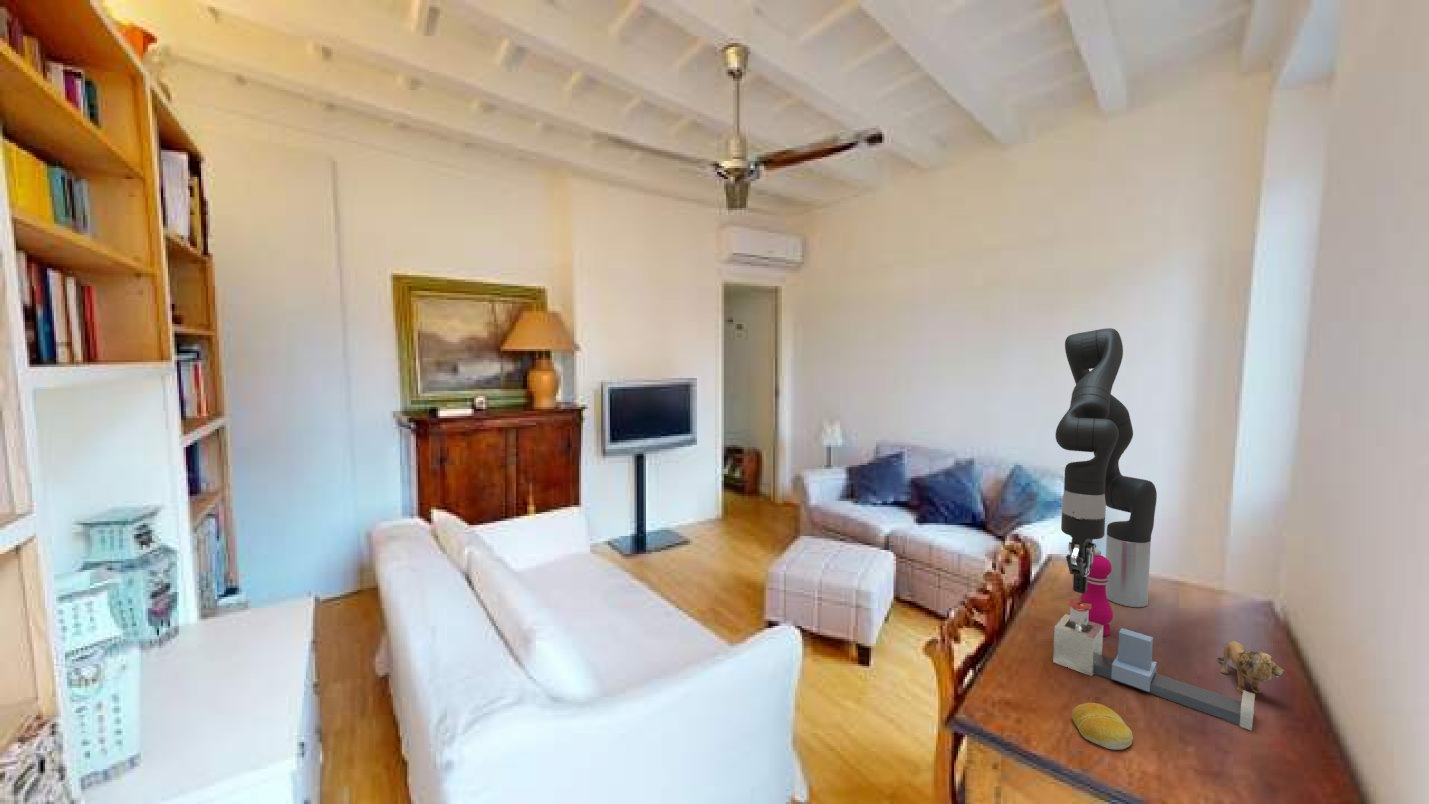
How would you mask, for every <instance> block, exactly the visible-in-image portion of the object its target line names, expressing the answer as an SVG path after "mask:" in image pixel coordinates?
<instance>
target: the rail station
mask: <svg viewBox="0 0 1429 804" xmlns="http://www.w3.org/2000/svg"><path fill="white" fill-rule="evenodd" d="M1053 631H1054V633H1053V654H1052V655H1053V657H1052V658H1053V659H1052V660H1053V663H1054V664H1057V665H1059V666H1062V667H1065V668H1067V667H1068V669H1071V670H1073V671H1077V672H1078V673H1079V672H1080V673H1082V674H1084V675H1087V676H1090V677H1093V676H1094V674H1095V675H1097V676H1101V677H1103V678H1105V679H1109V680H1111V681H1115V682H1117V683H1120V684H1122V685H1125V686H1128V687H1131V688H1134V689H1138V690H1140V691H1143V692H1145V693H1148V694H1152V695H1153V694H1155V695H1154V696H1156V697H1159V696H1161V697H1160V698H1162V699H1165V700H1167V699H1168V701H1171V702H1174V703H1176V704H1179V705H1181V706H1185V707H1187V706H1188V707H1187V708H1191V709H1193V708H1195V709H1194V710H1196V709H1197V710H1196V711H1198V710H1199V711H1198V712H1201V711H1204V712H1205V713H1204V712H1203V713H1204V714H1207V713H1208V714H1207V715H1210V714H1211V715H1210V716H1212V715H1213V717H1215V716H1217V717H1216V718H1218V717H1220V718H1219V719H1221V718H1222V720H1224V719H1226V720H1228V721H1227V722H1229V721H1231V722H1230V723H1232V722H1234V723H1233V724H1235V723H1236V724H1235V725H1238V726H1239V728H1243V729H1245V730H1247V731H1250V732H1251V731H1252V732H1253V724H1254V723H1253V722H1254V715H1255V713H1254V711H1255V702H1256V701H1255V700H1256V699H1255V698H1256V693H1253V692H1250V691H1247V690H1246V691H1244V690H1243V692H1242V695H1241V700H1238V699H1235V698H1233V697H1230V696H1227V695H1223V694H1221V693H1217V692H1214V691H1211V690H1209V689H1205V688H1202V687H1199V686H1195V685H1193V684H1190V683H1187V682H1184V681H1182V680H1181V681H1180V680H1179V679H1174V678H1172V677H1169V676H1166V675H1162V674H1159V673H1157V672H1156V673H1155V674H1154V676H1153V678H1152V681H1151V685H1150V692H1148V691H1145V690H1142V689H1140V688H1137V687H1134V686H1131V685H1128V684H1125V683H1123V682H1120V681H1117V680H1114V679H1111V676H1112V663H1113V662H1114V660H1115V658H1111V657H1110V656H1109V657H1108V656H1105V655H1103V643H1104V636H1103V625H1101V624H1097V623H1094V622H1091V621H1088V631H1087V632H1082V631H1078V630H1075V629H1072V628H1070V614H1066V613H1065V614H1064V615H1063V616H1062V617H1061V618H1060V620H1059V621H1058V622H1057V623H1056V624H1055V626H1054V630H1053ZM1226 720H1225V721H1226Z"/></svg>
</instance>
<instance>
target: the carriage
mask: <svg viewBox="0 0 1429 804" xmlns="http://www.w3.org/2000/svg"><path fill="white" fill-rule="evenodd" d="M1153 641H1154V637H1153V636H1150V635H1148V634H1147V635H1146V634H1144V633H1140V632H1137V631H1132V630H1129V629H1126V628H1120V630H1119V632H1118V645H1117V646H1118V648H1117V655H1116V657H1115V658H1114V659H1115V660H1114V662H1113V663H1112V676H1111V679H1114V680H1117V681H1120V682H1123V683H1125V684H1128V685H1131V686H1134V687H1137V688H1140V689H1142V690H1145V691H1148V692H1150V685H1151V681H1152V678H1153V676H1154V674H1155V673H1157V667H1158V666H1157V665H1158V662H1157V661H1154V660H1153V646H1154V645H1153V643H1154V642H1153ZM1111 679H1110V680H1111ZM1114 680H1113V681H1114ZM1117 681H1116V682H1117ZM1120 682H1119V683H1120ZM1125 684H1124V685H1125ZM1128 685H1127V686H1128ZM1131 686H1130V687H1131ZM1134 687H1133V688H1134ZM1137 688H1136V689H1137ZM1142 690H1141V691H1142ZM1145 691H1144V692H1145ZM1148 692H1147V693H1148Z"/></svg>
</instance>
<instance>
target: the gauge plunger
mask: <svg viewBox="0 0 1429 804" xmlns="http://www.w3.org/2000/svg"><path fill="white" fill-rule="evenodd" d="M1079 598H1080V597H1079ZM1079 598H1077V597H1070V598H1068V605H1069V606H1070V613H1069V615H1070V628H1072V629H1075V630H1078V631H1082V632H1087V631H1088V616H1089V610H1090V609H1091V603H1090V602H1088V601H1086V600H1083V599H1079Z"/></svg>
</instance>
